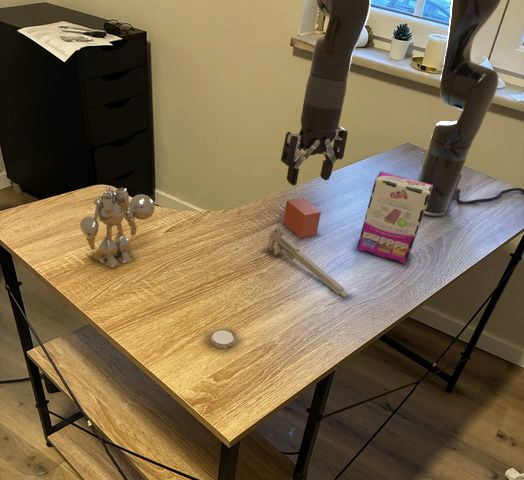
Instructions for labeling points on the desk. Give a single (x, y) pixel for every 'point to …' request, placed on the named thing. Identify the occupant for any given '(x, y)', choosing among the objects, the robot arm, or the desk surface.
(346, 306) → the desk surface
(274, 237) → the caliper
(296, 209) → the block
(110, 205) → the robot toy
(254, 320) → the desk surface
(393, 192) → the candy bar box
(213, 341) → the ridged bottle cap
